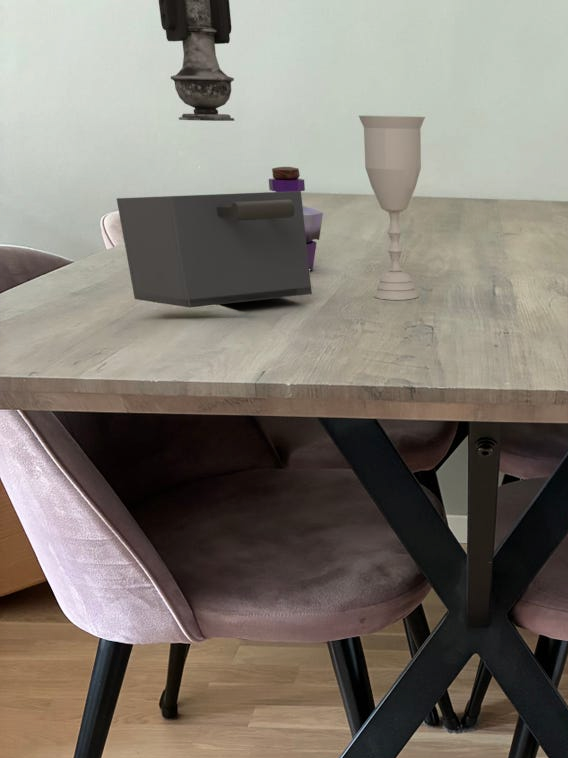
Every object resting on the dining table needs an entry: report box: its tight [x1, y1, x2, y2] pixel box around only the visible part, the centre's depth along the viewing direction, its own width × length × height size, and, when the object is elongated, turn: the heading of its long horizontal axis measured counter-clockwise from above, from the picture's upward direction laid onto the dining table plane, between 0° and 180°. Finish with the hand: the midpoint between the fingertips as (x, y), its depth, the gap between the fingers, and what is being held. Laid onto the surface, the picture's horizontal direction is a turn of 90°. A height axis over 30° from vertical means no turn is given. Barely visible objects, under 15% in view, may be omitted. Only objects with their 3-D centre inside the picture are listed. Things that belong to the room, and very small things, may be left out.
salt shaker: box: [170, 0, 235, 122], centre depth 90 cm, size 6×6×12 cm
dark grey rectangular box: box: [116, 191, 313, 309], centre depth 99 cm, size 19×14×10 cm
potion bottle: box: [268, 166, 324, 269], centre depth 121 cm, size 9×9×12 cm
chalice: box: [358, 115, 426, 301], centre depth 104 cm, size 7×7×18 cm
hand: (198, 39), depth 90 cm, fingers closed on salt shaker, 3 cm apart
